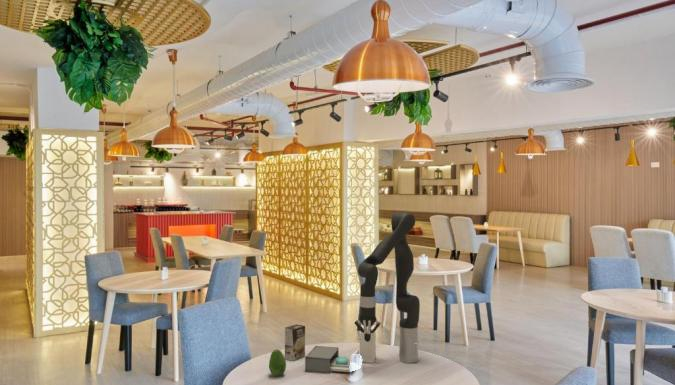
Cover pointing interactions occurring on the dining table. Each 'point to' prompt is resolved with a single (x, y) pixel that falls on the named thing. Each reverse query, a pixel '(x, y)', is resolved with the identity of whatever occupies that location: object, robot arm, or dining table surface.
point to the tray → (341, 367)
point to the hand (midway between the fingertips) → (367, 341)
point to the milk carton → (368, 346)
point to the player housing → (320, 359)
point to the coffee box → (294, 342)
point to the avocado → (277, 363)
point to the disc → (342, 361)
